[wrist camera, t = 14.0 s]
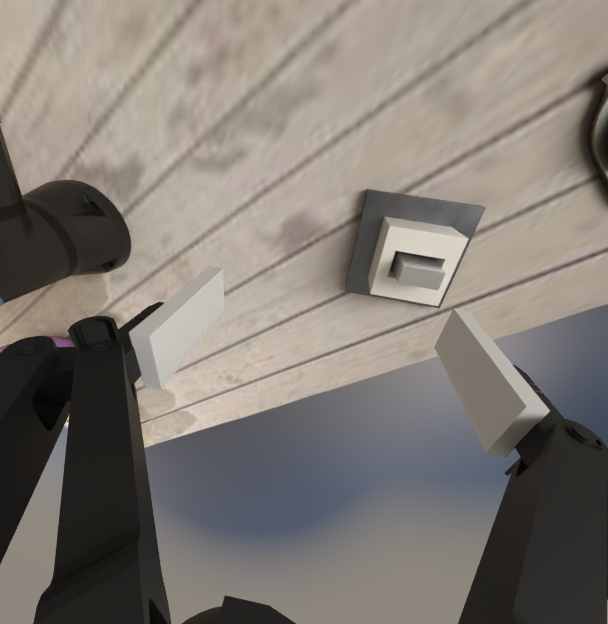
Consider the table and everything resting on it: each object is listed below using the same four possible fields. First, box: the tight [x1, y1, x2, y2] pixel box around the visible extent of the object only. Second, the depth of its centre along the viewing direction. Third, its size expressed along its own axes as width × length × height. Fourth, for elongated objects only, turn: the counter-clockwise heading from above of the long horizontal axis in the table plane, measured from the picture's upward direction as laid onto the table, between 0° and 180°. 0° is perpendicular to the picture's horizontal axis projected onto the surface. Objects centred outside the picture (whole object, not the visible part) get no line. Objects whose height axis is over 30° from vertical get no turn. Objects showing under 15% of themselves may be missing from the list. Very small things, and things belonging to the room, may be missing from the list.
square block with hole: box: [368, 217, 468, 306], centre depth 35 cm, size 9×9×6 cm
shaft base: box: [345, 189, 485, 308], centre depth 34 cm, size 15×15×10 cm
